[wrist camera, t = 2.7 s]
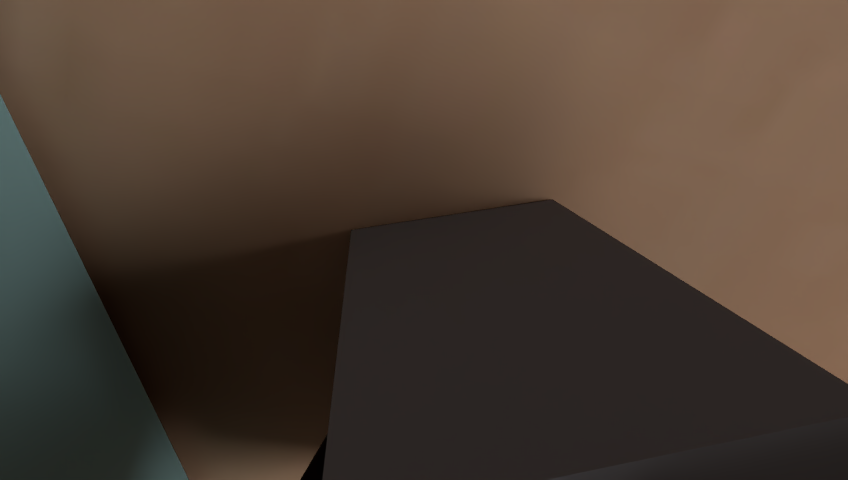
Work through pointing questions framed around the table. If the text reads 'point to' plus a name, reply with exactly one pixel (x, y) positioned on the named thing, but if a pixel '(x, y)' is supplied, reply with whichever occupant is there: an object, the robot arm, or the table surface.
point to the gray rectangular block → (560, 364)
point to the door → (62, 351)
